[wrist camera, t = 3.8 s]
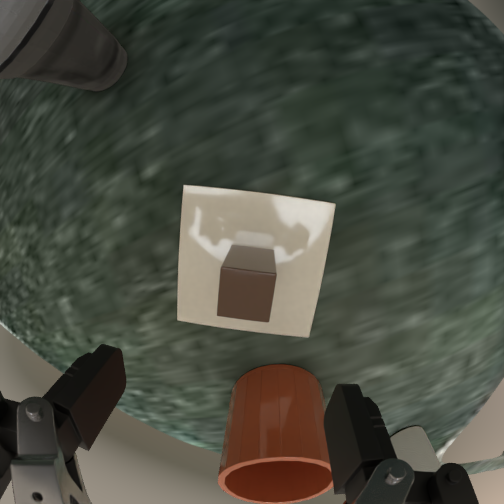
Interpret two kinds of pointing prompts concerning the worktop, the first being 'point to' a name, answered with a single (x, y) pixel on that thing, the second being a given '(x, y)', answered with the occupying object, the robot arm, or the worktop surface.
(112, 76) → the beverage cup
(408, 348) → the worktop surface
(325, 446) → the tumbler
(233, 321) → the lid
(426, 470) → the paper towel roll
